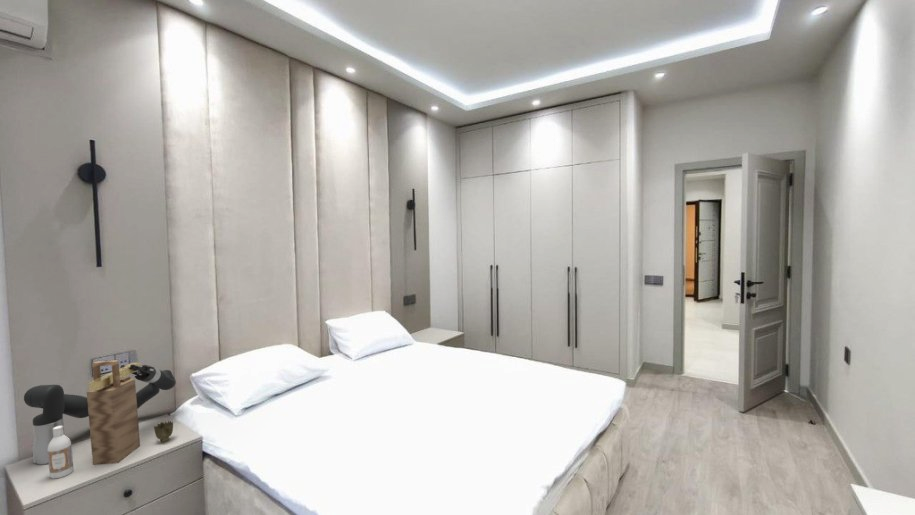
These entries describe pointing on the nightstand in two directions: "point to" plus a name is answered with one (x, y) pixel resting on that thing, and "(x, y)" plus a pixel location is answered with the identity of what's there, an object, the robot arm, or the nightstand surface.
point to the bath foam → (60, 454)
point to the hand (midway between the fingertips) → (126, 367)
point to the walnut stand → (113, 417)
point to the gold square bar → (111, 377)
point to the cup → (164, 430)
